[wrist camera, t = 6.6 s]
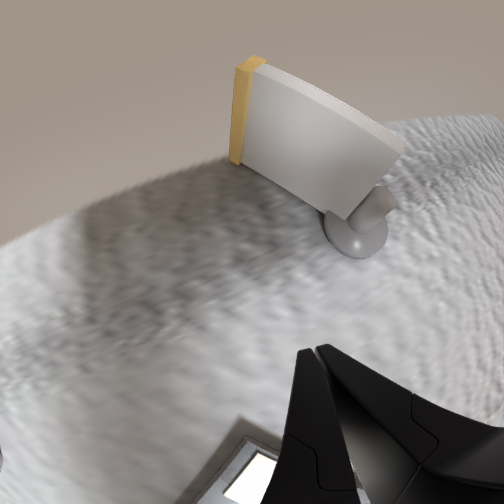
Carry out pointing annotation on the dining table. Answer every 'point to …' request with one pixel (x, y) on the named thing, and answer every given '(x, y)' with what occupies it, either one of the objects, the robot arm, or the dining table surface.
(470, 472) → the robot arm
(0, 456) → the beer can
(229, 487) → the plate
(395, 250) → the dining table surface
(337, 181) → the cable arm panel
